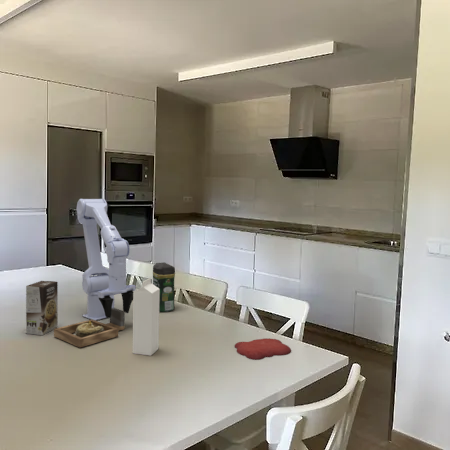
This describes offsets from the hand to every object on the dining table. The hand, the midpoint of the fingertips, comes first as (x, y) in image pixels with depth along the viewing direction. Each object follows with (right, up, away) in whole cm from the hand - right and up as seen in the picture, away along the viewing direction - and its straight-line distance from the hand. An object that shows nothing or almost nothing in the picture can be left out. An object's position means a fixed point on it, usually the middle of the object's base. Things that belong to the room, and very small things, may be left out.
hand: (117, 314), depth 161 cm
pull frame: (-6, -5, -7) cm, 10 cm away
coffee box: (-24, -5, -4) cm, 25 cm away
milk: (+13, -8, -19) cm, 25 cm away
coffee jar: (+12, -3, +26) cm, 29 cm away
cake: (-7, -6, -8) cm, 12 cm away
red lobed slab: (+49, -9, -15) cm, 52 cm away
